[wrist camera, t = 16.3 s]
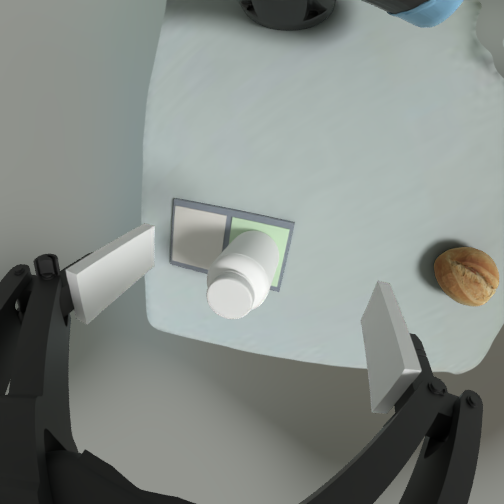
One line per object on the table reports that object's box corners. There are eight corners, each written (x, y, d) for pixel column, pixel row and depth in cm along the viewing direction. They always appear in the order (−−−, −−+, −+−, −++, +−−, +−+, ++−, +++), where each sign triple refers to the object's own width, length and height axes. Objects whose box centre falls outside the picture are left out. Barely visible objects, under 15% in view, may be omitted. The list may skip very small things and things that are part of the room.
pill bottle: (286, 238, 41) (272, 282, 28) (271, 282, 45) (252, 338, 31) (237, 221, 42) (200, 257, 28) (226, 266, 45) (189, 315, 32)
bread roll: (442, 229, 36) (464, 245, 29) (496, 256, 34) (518, 273, 27) (420, 280, 40) (436, 304, 33) (475, 300, 38) (492, 322, 31)
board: (176, 198, 44) (173, 199, 43) (294, 222, 41) (294, 224, 40) (172, 262, 49) (169, 264, 48) (279, 289, 46) (278, 292, 45)
